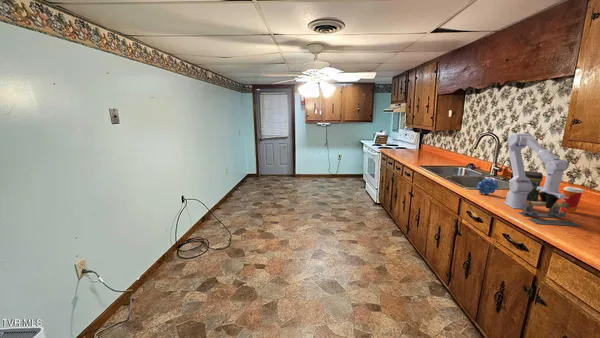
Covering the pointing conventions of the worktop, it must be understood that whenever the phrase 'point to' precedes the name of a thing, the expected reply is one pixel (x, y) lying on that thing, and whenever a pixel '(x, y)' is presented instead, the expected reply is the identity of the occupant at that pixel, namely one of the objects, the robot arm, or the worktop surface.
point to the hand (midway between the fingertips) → (546, 206)
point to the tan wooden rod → (532, 203)
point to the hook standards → (551, 214)
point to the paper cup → (571, 198)
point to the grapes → (487, 186)
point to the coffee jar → (534, 184)
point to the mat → (554, 222)
